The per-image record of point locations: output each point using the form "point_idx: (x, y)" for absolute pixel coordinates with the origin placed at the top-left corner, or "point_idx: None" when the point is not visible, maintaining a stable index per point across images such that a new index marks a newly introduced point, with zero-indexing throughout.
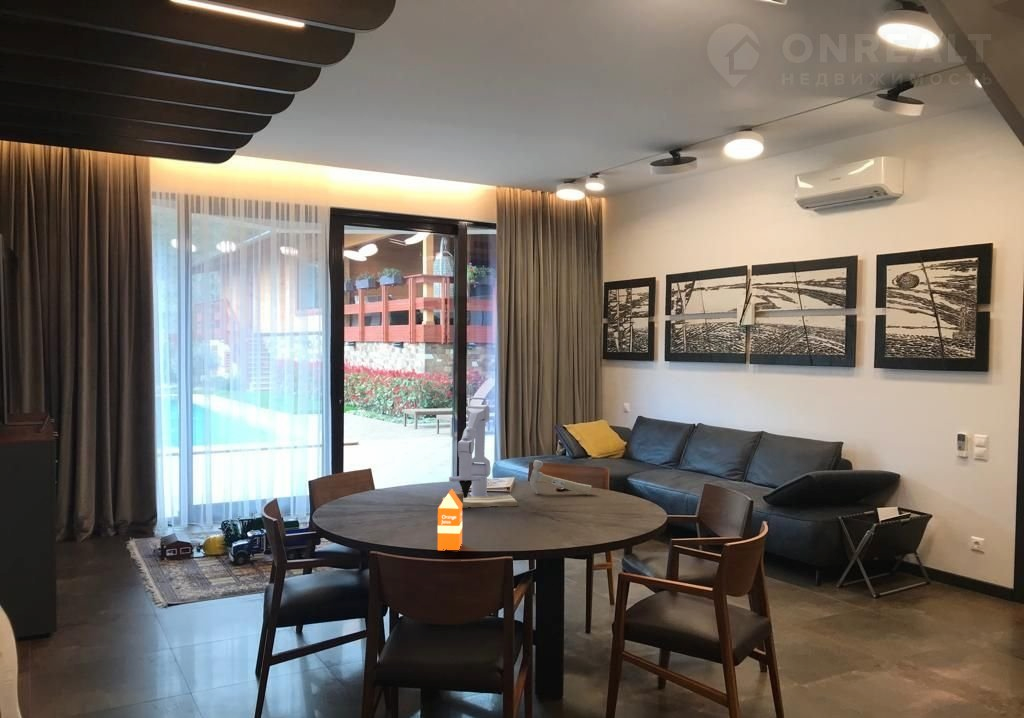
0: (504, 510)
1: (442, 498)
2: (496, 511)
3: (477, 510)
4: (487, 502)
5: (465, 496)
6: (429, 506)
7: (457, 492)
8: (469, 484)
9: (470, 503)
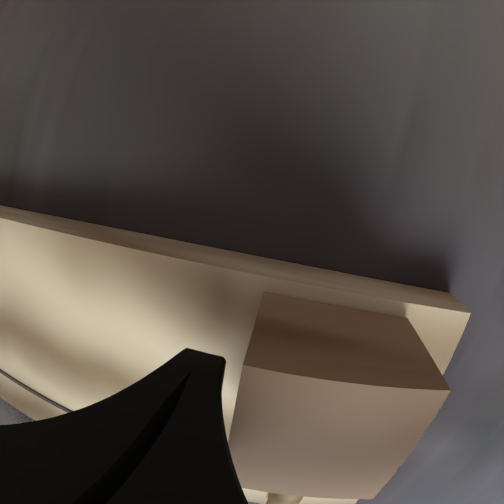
0: (3, 67)
1: (352, 502)
2: (48, 33)
3: (163, 82)
4: (21, 223)
5: (202, 360)
6: (498, 394)
7: (304, 467)
8: (9, 454)
9: (174, 256)
